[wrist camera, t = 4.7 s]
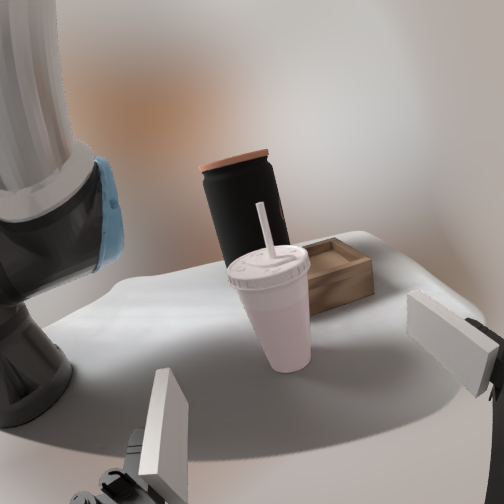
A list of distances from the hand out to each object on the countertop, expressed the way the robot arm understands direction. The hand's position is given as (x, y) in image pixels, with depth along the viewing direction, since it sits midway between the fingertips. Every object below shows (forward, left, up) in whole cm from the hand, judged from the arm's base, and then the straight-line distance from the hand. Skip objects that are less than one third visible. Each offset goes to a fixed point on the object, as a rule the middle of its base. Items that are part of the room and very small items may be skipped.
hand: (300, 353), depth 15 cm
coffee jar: (+2, +34, -8) cm, 35 cm away
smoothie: (0, +9, -8) cm, 12 cm away
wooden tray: (+7, +21, -7) cm, 23 cm away
